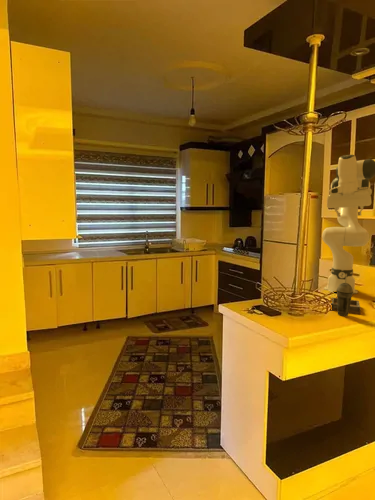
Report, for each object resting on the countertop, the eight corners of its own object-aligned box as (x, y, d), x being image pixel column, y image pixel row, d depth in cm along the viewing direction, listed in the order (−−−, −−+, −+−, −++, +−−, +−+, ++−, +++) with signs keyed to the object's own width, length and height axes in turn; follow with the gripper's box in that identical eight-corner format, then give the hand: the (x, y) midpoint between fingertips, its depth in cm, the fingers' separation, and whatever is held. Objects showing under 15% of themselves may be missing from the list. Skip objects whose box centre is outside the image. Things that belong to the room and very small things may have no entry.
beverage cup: (333, 315, 167) (337, 274, 165) (335, 311, 174) (338, 271, 171) (350, 318, 164) (354, 276, 161) (351, 314, 170) (355, 273, 168)
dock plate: (330, 303, 189) (330, 297, 188) (359, 306, 183) (359, 300, 183) (329, 310, 176) (330, 304, 175) (360, 314, 170) (361, 307, 170)
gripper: (372, 185, 173) (372, 213, 175) (327, 189, 183) (328, 216, 186) (371, 186, 167) (372, 215, 170) (325, 190, 178) (327, 217, 180)
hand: (349, 215), depth 178 cm, fingers open, 8 cm apart
